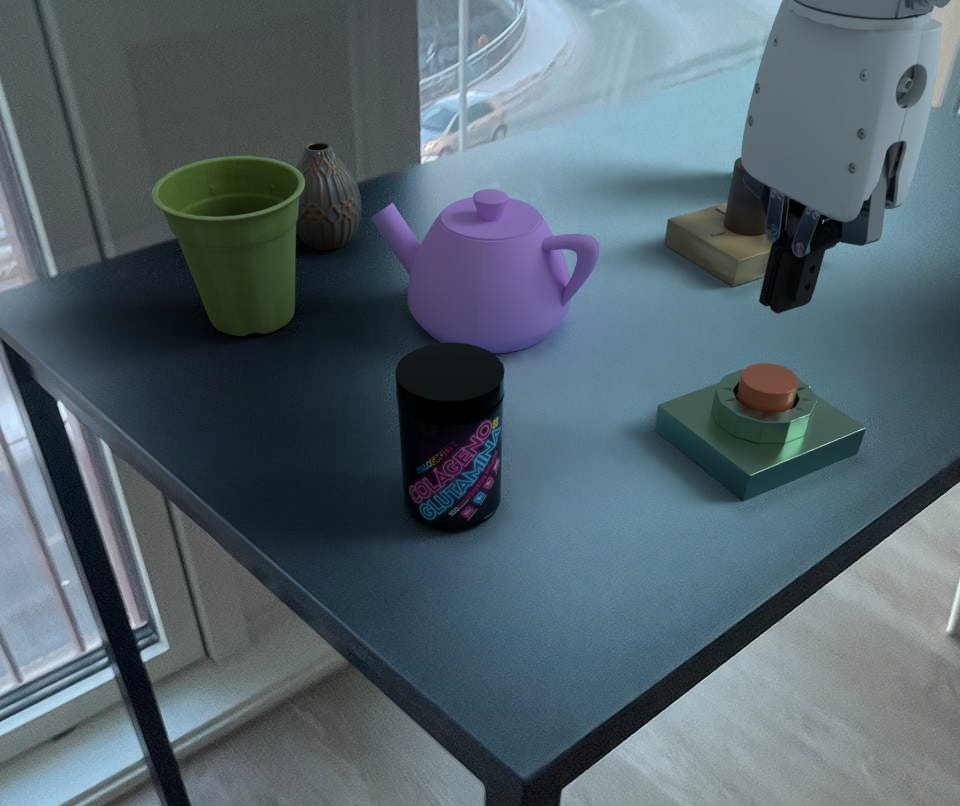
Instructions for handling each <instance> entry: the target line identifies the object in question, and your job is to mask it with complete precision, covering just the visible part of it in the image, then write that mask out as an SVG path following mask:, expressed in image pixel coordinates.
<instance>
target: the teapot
mask: <svg viewBox="0 0 960 806" xmlns="http://www.w3.org/2000/svg"><path fill="white" fill-rule="evenodd" d="M370 219H371V221H372V222H373V224H374V225H375V227H376V229H377V230H378V231H379V233H380V234H381V236H382V237H383V239H384V240H385V242H386V244H387V245H388V246H389V248H390V250H391V251H392V252H393V253H394V255H395V256H396V258H397V260H398V261H399V263H400V264H401V265H402V267H403V268H404V270H405V271H406V272H407V274H408V276H409V277H408V283H407V305H408V309H409V311H410V313H411V315H412V318H413V319H414V320H415V321H416V322H417V323H418V324H419V326H420V327H421V328H422V329H423V330H424V331H425V332H426V333H428V334H429V336H431V337H432V338H433V339H434V340H436V341H437V342H438V343H464V344H470V345H474V346H478V347H481V348H483V349H486V350H488V351H490V352H491V353H493V354H494V355H495V354H507V353H513V352H517V351H522V350H525V349H528V348H531V347H533V346H535V345H537V344H538V343H540V342H542V341H543V340H545V339H546V338H547V337H548V336H549V335H551V334H552V333H553V332H554V331H556V329H557V328H558V327H559V326H560V324H561V323H562V322H563V321H564V320H565V318H566V317H567V315H568V313H569V311H570V308H571V306H572V304H571V303H572V301H571V300H572V298H573V297H574V296H575V295H576V294H577V293H578V291H579V290H580V289H581V288H582V287H583V285H584V284H585V283H586V282H587V280H588V279H589V277H590V276H591V275H592V273H593V272H594V270H595V268H596V265H597V262H598V260H599V256H600V251H601V246H600V243H599V242H598V240H597V238H595V237H594V236H592V235H589V234H584V233H566V234H564V233H563V234H557V235H554V233H553V231H552V229H551V227H550V226H549V224H548V223H547V221H546V219H545V218H544V217H543V215H542V213H540V211H539V210H538V209H537V208H535V207H534V206H533V205H532V204H529V202H528V203H527V202H526V201H523V200H520V199H517V198H513V197H509V195H508V193H507V192H505V191H502V190H499V189H496V188H495V189H494V188H487V189H486V188H485V189H481V190H478V191H476V192H474V193H473V195H472V196H470V197H466V198H462V199H460V200H456V201H454V202H453V203H450V204H449V205H447V206H446V207H445V208H443V209H442V211H441V212H440V213H439V214H438V215H437V217H436V218H435V220H434V221H433V222H432V224H431V225H430V228H429V229H428V231H427V232H426V235H425V236H424V238H423V239H422V241H421V243H420V241H419V240H418V239H417V237H416V236H415V234H414V232H413V230H412V229H411V228H410V226H409V224H407V222H406V221H405V219H404V218H403V216H402V215H401V212H399V210H398V208H397V206H396V205H395V204H394V203H393V202H391V203H390V204H389V205H387V206H386V207H384V208H383V209H382V210H380V211H378V212H377V213H375V214H374V215H373V216H371V218H370ZM562 250H568V251H572V252H574V253H575V254H576V263H575V266H574V269H573V271H572V275H571V276H570V272H569V268H568V263H567V261H566V258H565V255H564V253H563V251H562Z"/></svg>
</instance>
